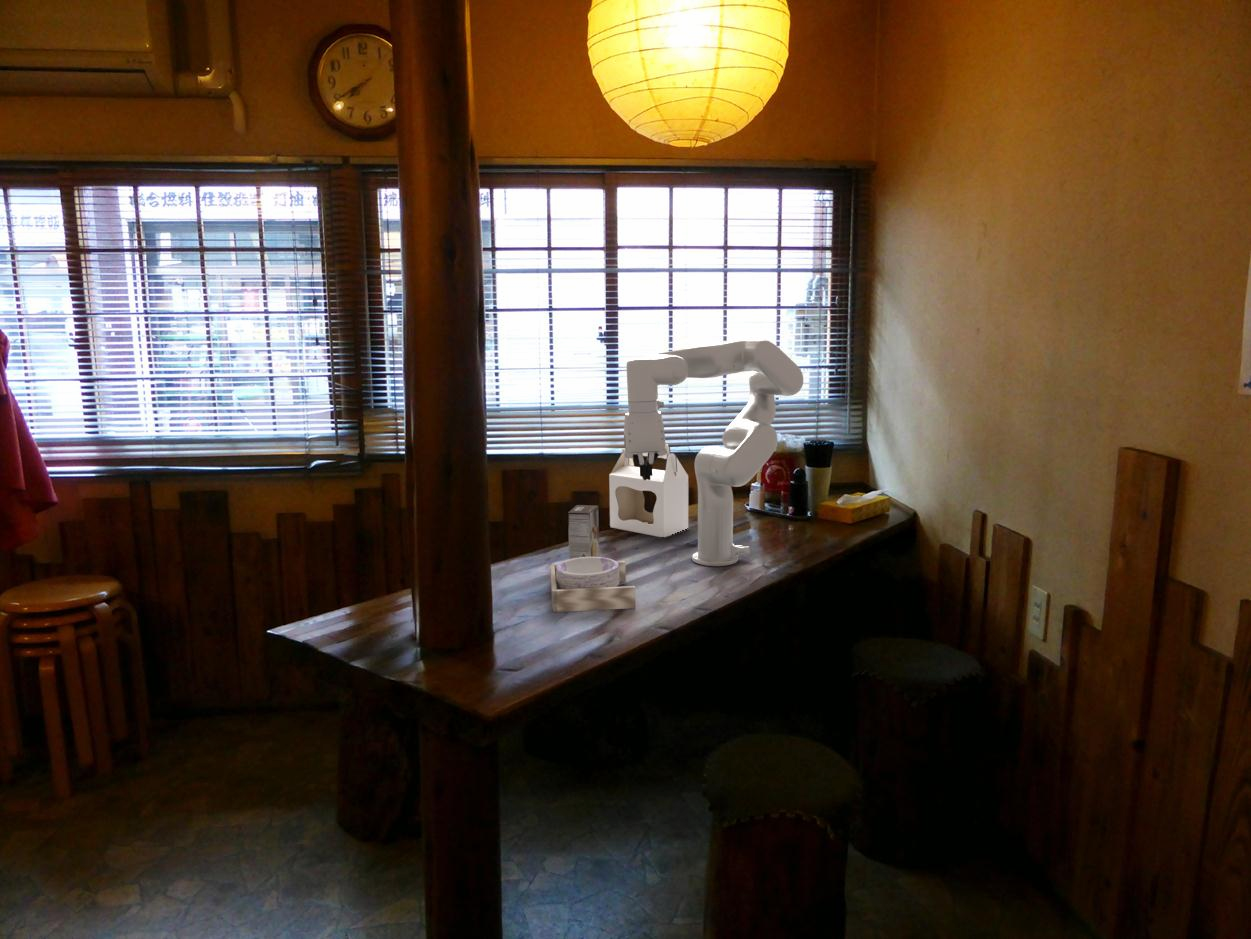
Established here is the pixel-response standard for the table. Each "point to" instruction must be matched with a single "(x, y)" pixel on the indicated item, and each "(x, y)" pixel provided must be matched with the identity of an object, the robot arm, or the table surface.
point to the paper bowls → (587, 573)
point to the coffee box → (583, 531)
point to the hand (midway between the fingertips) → (646, 478)
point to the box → (592, 595)
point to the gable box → (630, 499)
